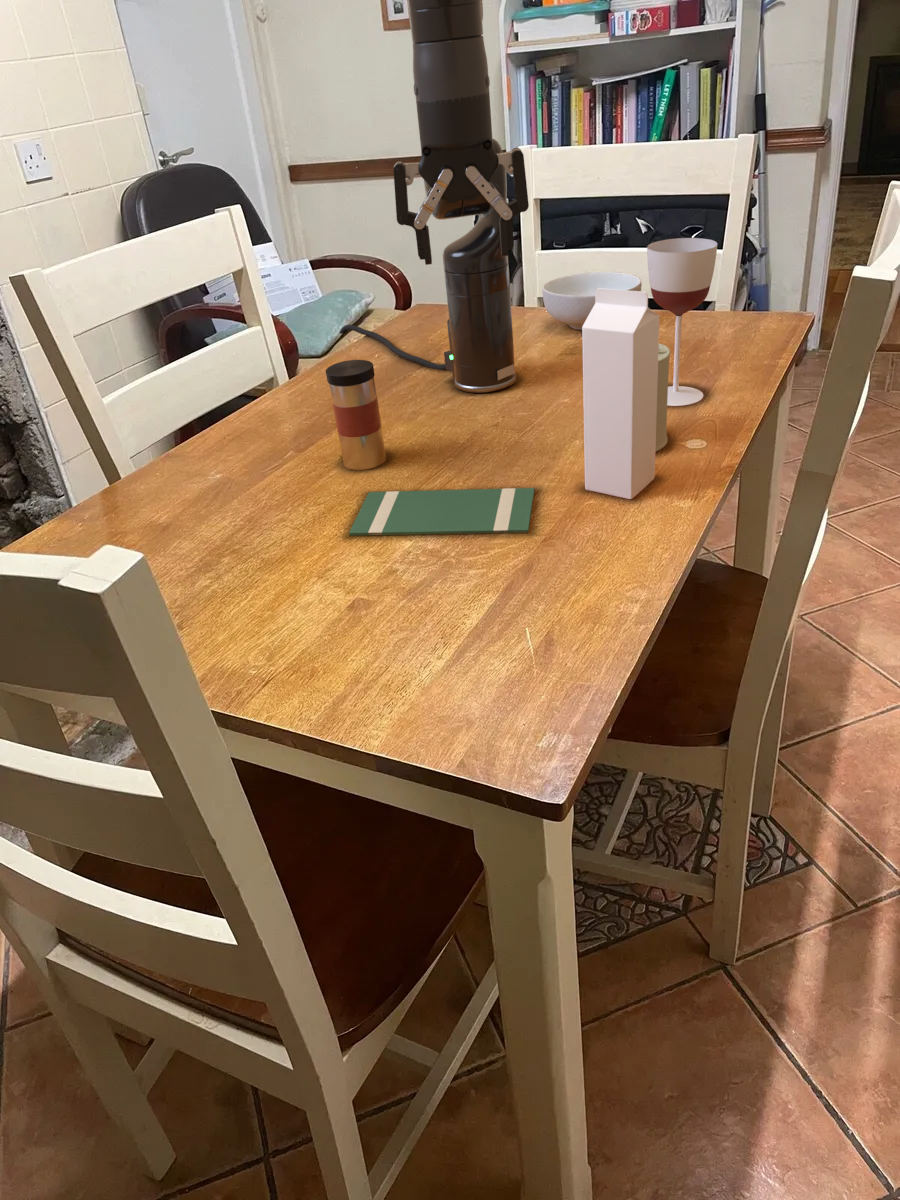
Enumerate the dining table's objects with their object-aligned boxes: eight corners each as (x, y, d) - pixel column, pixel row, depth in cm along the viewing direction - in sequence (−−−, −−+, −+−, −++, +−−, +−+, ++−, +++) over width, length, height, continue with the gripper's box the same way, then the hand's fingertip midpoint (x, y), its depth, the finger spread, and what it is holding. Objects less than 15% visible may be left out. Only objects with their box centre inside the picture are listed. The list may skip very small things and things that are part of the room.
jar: (334, 460, 115) (317, 368, 108) (373, 447, 117) (359, 356, 111) (355, 474, 111) (338, 379, 104) (395, 460, 113) (381, 366, 106)
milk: (609, 470, 105) (608, 280, 93) (655, 479, 101) (661, 283, 89) (584, 490, 101) (580, 295, 89) (631, 500, 97) (634, 299, 85)
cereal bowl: (659, 316, 153) (660, 274, 149) (605, 344, 144) (604, 300, 140) (580, 305, 163) (579, 266, 160) (524, 331, 154) (522, 290, 150)
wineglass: (696, 409, 117) (705, 253, 106) (635, 402, 121) (637, 251, 110) (715, 388, 122) (725, 238, 111) (655, 382, 127) (660, 237, 116)
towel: (369, 494, 105) (368, 491, 105) (534, 490, 102) (534, 487, 102) (349, 535, 97) (348, 532, 97) (528, 533, 94) (528, 529, 94)
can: (667, 456, 106) (671, 359, 99) (591, 457, 108) (589, 362, 101) (667, 426, 113) (670, 334, 107) (595, 427, 115) (594, 337, 109)
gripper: (519, 81, 91) (527, 245, 100) (384, 97, 92) (404, 258, 101) (525, 87, 85) (532, 260, 94) (380, 103, 86) (401, 274, 95)
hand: (466, 258), depth 97 cm, fingers open, 8 cm apart
